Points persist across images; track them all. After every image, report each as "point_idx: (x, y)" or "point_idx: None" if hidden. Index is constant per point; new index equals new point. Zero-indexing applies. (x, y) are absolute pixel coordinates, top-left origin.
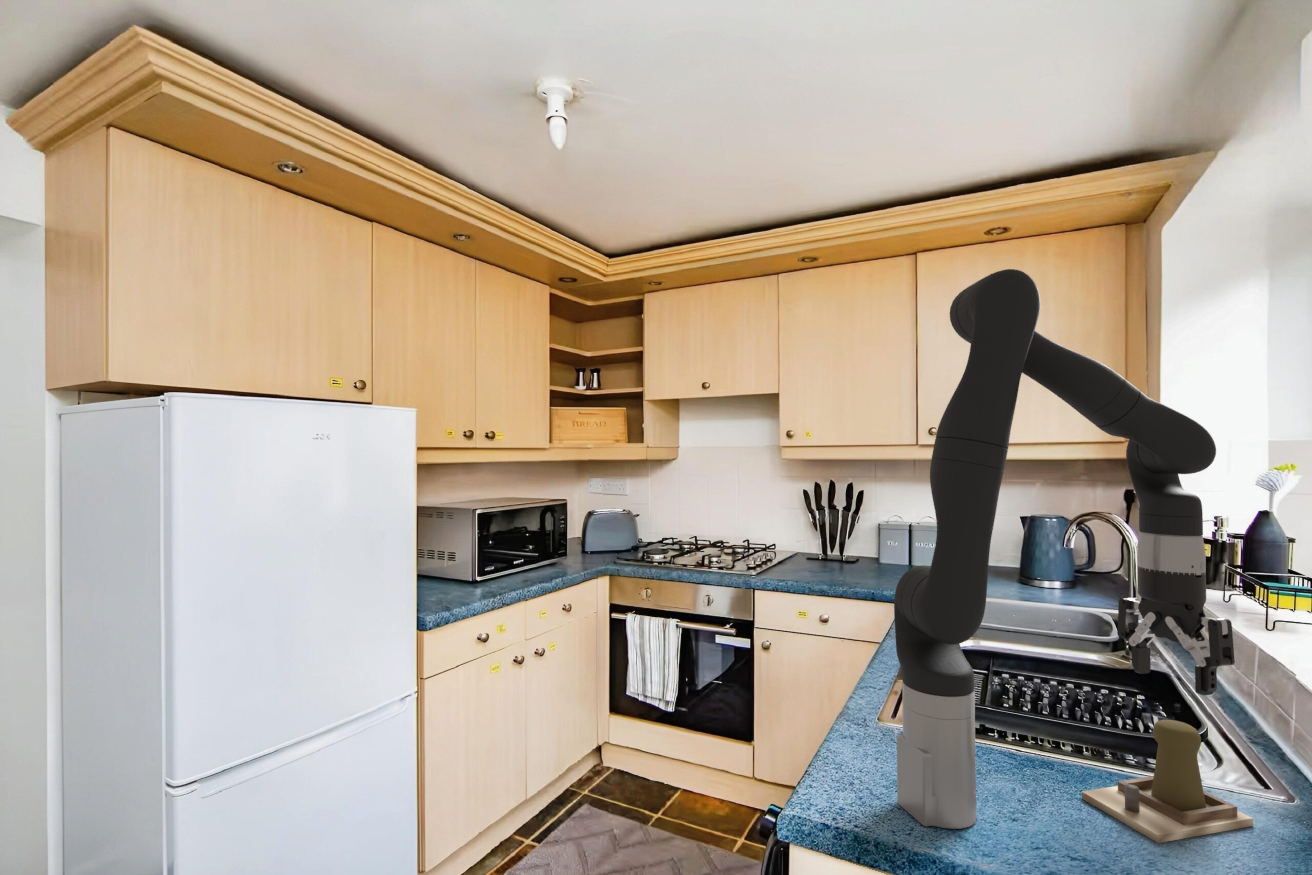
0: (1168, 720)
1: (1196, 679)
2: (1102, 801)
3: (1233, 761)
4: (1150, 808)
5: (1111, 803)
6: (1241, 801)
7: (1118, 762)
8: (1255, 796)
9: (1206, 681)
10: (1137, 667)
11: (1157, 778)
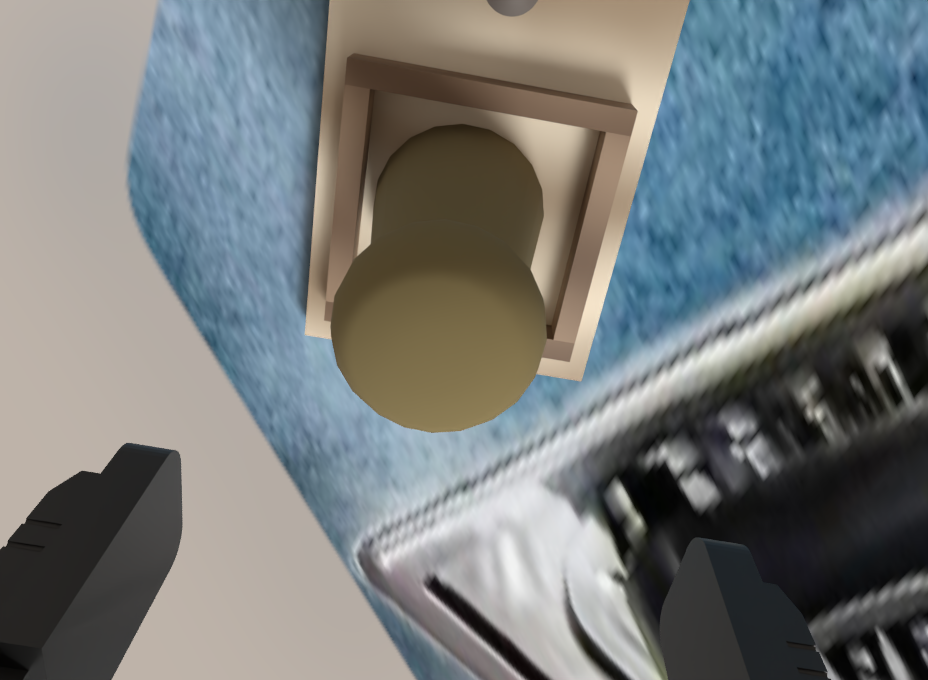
0: (480, 369)
1: (111, 527)
2: None
3: (561, 664)
4: (482, 67)
5: None
6: (415, 448)
7: (763, 382)
8: (416, 510)
9: (30, 537)
10: (724, 569)
11: (496, 174)
